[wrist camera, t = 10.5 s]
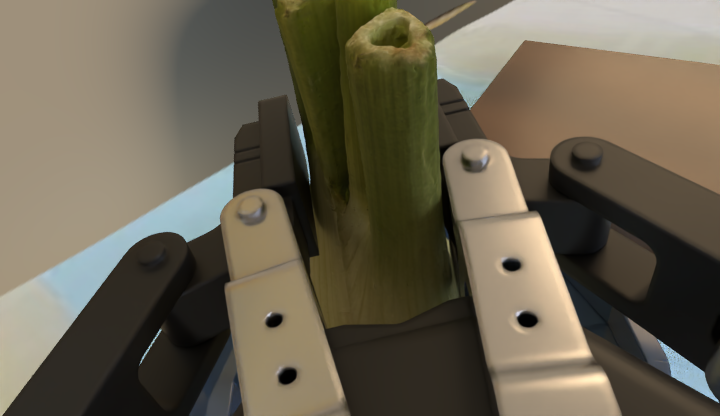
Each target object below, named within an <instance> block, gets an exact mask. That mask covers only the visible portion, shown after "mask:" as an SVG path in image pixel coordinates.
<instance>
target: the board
mask: <svg viewBox="0 0 720 416" xmlns="http://www.w3.org/2000/svg"><path fill="white" fill-rule="evenodd" d="M470 110H471V112H472V114H473V115H474V117H475V119H476V121H477V122H478V124H479V126H480V127H481V129H482V131H483V132H484V134H485V136H486V138H487V139H488V140H491V141H494V142H497V143H499V144H500V145H502V146H503V147H504V148H505V149H506V150H507V152H508V154H509V156H512V157H516V158H550V154H551V151H552V149H553V148H554V147H555V146H556V145H557V144H558V143H560V142H561V141H563V140H566V139H569V138H573V137H584V136H586V137H596V138H600V139H604V140H606V141H609V142H611V143H613V144H615V145H617V146H619V147H621V148H623V149H626V150H628V151H630V152H632V153H634V154H636V155H638V156H640V157H642V158H644V159H647V160H649V161H651V162H653V163H655V164H657V165H659V166H661V167H663V168H665V169H668V170H670V171H672V172H674V173H676V174H678V175H680V176H682V177H684V178H686V179H688V180H691V181H693V182H695V183H697V184H699V185H701V186H703V187H705V188H707V189H709V190H712V191H714V192H716V193H718V194H720V65H715V64H707V63H699V62H692V61H684V60H676V59H668V58H660V57H652V56H644V55H636V54H629V53H621V52H613V51H605V50H597V49H589V48H581V47H573V46H566V45H558V44H550V43H542V42H534V41H526V40H525V41H524V42H523V43H522V45H521V46H520V47H519V48H518V50H517V51H516V52H515V53H514V55H513V56H512V57H511V59H510V60H509V61H508V62H507V64H506V65H505V66H504V67H503V69H502V70H501V71H500V72H499V74H498V75H497V76H496V78H495V79H494V80H493V81H492V83H491V84H490V85H489V86H488V88H487V89H486V90H485V92H484V93H483V94H482V95H481V97H480V98H479V99H478V100H477V102H476V103H475V104H474V105H473V107H472V108H471V109H470ZM610 228H611V229H613V230H615V231H616V232H618V233H620V234H621V235H623V236H625V237H626V238H628V239H630V240H631V241H633V242H635V243H636V244H638V245H640V246H641V247H643V248H645V249H646V250H648V251H650V252H651V253H653V254H654V252H653V251H652V249H651V248H650V247H649V246H648V245H647V244H646V243H645V242H643V241H642V240H640V239H639V238H637V237H635V236H633V235H632V234H630V233H628V232H627V231H625V230H623V229H622V228H620V227H618V226H617V225H615V224H613V223H611V227H610Z"/></svg>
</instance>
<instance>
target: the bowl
mask: <svg viewBox="0 0 720 416" xmlns="http://www.w3.org/2000/svg"><path fill="white" fill-rule="evenodd" d="M444 228H445V232H446V238H447V239H448V240H449V236H448V232H447V230H446V227H445V226H444ZM309 261H310V258H309ZM561 273H562V275H563V278H564V281H565V284H566V286H567V289H568V292H569V294H570V297H571V300H572V302H573V305H574V308H575V311H576V313H577V316H578V319H579V321H580V324H581V326H582V327H584V328H586V329H587V330H589V331H591V332H593V333H594V334H596V335H598V336H600V337H602V338H603V339H605V340H607V341H609V342H611V343H612V344H614V345H616V346H618V347H619V348H621V349H623V350H625V351H627V352H628V353H630V354H632V355H634V356H635V357H637V358H639V359H641V360H643V361H644V362H646V363H648V364H650V365H652V366H653V367H655V368H657V369H659V370H660V371H662V372H664V373H666V374H668V375H669V376H671V370H670V364H669V362H668V359H667V357H666V355H665V353H664V351H663V349H662V347H661V346H660V344H659V342H658V340H657V338H656V337H654V336H653V335H652V334H650V333H649V332H647V331H646V330H645V329H643V328H642V327H640V326H639V325H637V324H636V323H635V322H633V321H632V320H630V319H629V318H628V317H626V316H625V315H623V314H622V313H621V312H619V311H618V310H616V309H615V308H613V307H612V306H611V305H609V304H608V303H606V302H605V301H604V300H602V299H601V298H599V297H598V296H597V295H595V294H594V293H592V292H591V291H590V290H588V289H587V288H585V287H584V286H582V285H581V284H580V283H578V282H577V281H575V280H574V279H573V278H571V277H570V276H568V275H567V274H566V273H564V272H563V271H561ZM241 402H242V398H241V392H240V385H239V379H238V373H237V366H236V360H235V354H234V347H233V341H232V334H230V336H229V339H228V341H227V343H226V345H225V346H224V348H223V350H222V352H221V354H220V356H219V358H218V360H217V362H216V364H215V366H214V368H213V370H212V372H211V374H210V376H209V377H208V379H207V381H206V383H205V385H204V387H203V389H202V391H201V393H200V395H199V397H198V399H197V401H196V403H195V405H194V407H193V409H192V410H191V412H190V414H189V416H232V415H233V414H234V412H235V411H236V409H237V408H238V406H239V405H240V403H241Z"/></svg>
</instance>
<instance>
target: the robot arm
mask: <svg viewBox="0 0 720 416" xmlns="http://www.w3.org/2000/svg"><path fill="white" fill-rule="evenodd" d="M437 83H438V84H437V95H438V119H439V152H440V172H441V190H442V205H443V218H444V226H445V227H446V230H447V232H448V236H449V248H450V255H451V260H452V266H453V271H454V277H455V282H456V288H457V293H458V298H456V299H452V300H448V301H446V302H444V303H442V304H440V305H438V306H436V307H434V308H432V309H429V310H427V311H425V312H423V313H421V314H419V315H417V316H415V317H413V318H411V319H409V320H407V321H405V322H402V323H399V324H357V325H341V326H337V327H332V328H327V325H326V322H325V319H324V316H323V313H322V310H321V307H320V304H319V300H318V297H317V294H316V291H315V288H314V285H313V282H312V279H311V276H310V261H309V258H310V257H314V256H319V255H320V254H319V247H318V240H317V233H316V226H315V219H314V212H313V205H312V198H311V192H310V184H309V177H308V170H307V164H306V159H305V154H304V150H303V147H302V143H301V140H300V136H299V133H298V130H297V126H296V123H295V119H294V116H293V113H292V109H291V106H290V103H289V100H288V97H287V95H282V96H278V97H274V98H270V99H266V100H261V101H259V102H258V109H259V111H258V112H259V121H258V122H253V123H249V124H245V125H243V126H242V127H241V129H240V130H239V132H238V134H237V135H236V137H235V142H234V143H235V144H234V151H235V154H234V180H233V199H232V200H230V201H229V202H228V203H227V204H226V205H225V207H224V208H223V210H222V212H221V215H220V223H221V224H220V225H218V226H217V227H216V228H214V229H213V230H211V231H210V232H208V233H206V234H204V235H202V236H200V237H198V238H196V239H194V240H191V241H189V242H187V243H186V241H185V239H184V238H183V237H182V236H180V235H179V234H176V233H172V232H163V233H157V234H153V235H151V236H148V237H146V238H144V239H142V240H140V241H139V242H137V243H136V244H135V245H133V246H132V247H131V248H130V249H129V250H128V251H127V252H126V254H125V255H124V256H123V257H122V259H121V260H120V261H119V263H118V264H117V265H116V267H115V268H114V269H113V271H112V272H111V273H110V275H109V276H108V277H107V279H106V280H105V281H104V282H103V284H102V285H101V286H100V288H99V289H98V290H97V292H96V293H95V294H94V296H93V297H92V298H91V300H90V301H89V302H88V304H87V305H86V306H85V307H84V309H83V310H82V311H81V313H80V314H79V315H78V317H77V318H76V319H75V321H74V322H73V323H72V325H71V326H70V327H69V329H68V330H67V331H66V332H65V334H64V335H63V336H62V338H61V339H60V340H59V342H58V343H57V344H56V346H55V347H54V348H53V350H52V351H51V352H50V354H49V355H48V356H47V357H46V359H45V360H44V361H43V363H42V364H41V365H40V367H39V368H38V369H37V371H36V372H35V373H34V375H33V376H32V377H31V379H30V380H29V381H28V382H27V384H26V385H25V386H24V388H23V389H22V390H21V392H20V393H19V394H18V396H17V397H16V398H15V400H14V401H13V402H12V404H11V405H10V406H9V407H8V409H7V410H6V411H5V413H4V414H3V415H2V416H189V414H190V412H191V410H192V409H193V407H194V405H195V403H196V401H197V399H198V397H199V395H200V393H201V391H202V389H203V387H204V385H205V383H206V381H207V379H208V377H209V376H210V374H211V372H212V370H213V368H214V366H215V364H216V362H217V360H218V358H219V356H220V354H221V352H222V350H223V348H224V346H225V345H226V343H227V341H228V339H229V336H230V334H232V341H233V347H234V354H235V360H236V366H237V373H238V379H239V385H240V392H241V398H242V402H241V403H240V405H239V406H238V408H237V409H236V411H235V412H234V414H233V415H232V416H720V194H718V193H716V192H714V191H712V190H709V189H707V188H705V187H703V186H701V185H699V184H697V183H695V182H693V181H691V180H688V179H686V178H684V177H682V176H680V175H678V174H676V173H674V172H672V171H670V170H668V169H665V168H663V167H661V166H659V165H657V164H655V163H653V162H651V161H649V160H647V159H644V158H642V157H640V156H638V155H636V154H634V153H632V152H630V151H628V150H626V149H623V148H621V147H619V146H617V145H615V144H613V143H611V142H609V141H606V140H604V139H600V138H596V137H586V136H584V137H573V138H569V139H566V140H563V141H561V142H560V143H558V144H557V145H556V146H555V147H554V148H553V149H552V151H551V154H550V158H516V157H512V156H509V154H508V152H507V150H506V149H505V148H504V147H503V146H502V145H500V144H499V143H497V142H494V141H491V140H488V139H487V138H486V136H485V134H484V132H483V131H482V129H481V127H480V126H479V124H478V122H477V121H476V119H475V117H474V115H473V114H472V112H471V110H469V107H468V105H467V104H466V102H465V101H464V99H463V97H462V95H461V93H460V92H459V90H458V88H457V87H456V86H454V85H453V84H451V83H449V82H448V81H446V80H444V79H439V80H437ZM611 223H613V224H615V225H617V226H618V227H620V228H622V229H623V230H625V231H627V232H628V233H630V234H632V235H633V236H635V237H637V238H639V239H640V240H642V241H643V242H645V243H646V244H647V245H648V246H649V247H650V248H651V249H652V251H653V252H654V254H653V253H651V252H650V251H648V250H646V249H645V248H643V247H641V246H640V245H638V244H636V243H635V242H633V241H631V240H630V239H628V238H626V237H625V236H623V235H621V234H620V233H618V232H616V231H615V230H613V229H611V228H610V227H611ZM561 271H563V272H564V273H566V274H567V275H568V276H570V277H571V278H573V279H574V280H575V281H577V282H578V283H580V284H581V285H582V286H584V287H585V288H587V289H588V290H590V291H591V292H592V293H594V294H595V295H597V296H598V297H599V298H601V299H602V300H604V301H605V302H606V303H608V304H609V305H611V306H612V307H613V308H615V309H616V310H618V311H619V312H621V313H622V314H623V315H625V316H626V317H628V318H629V319H630V320H632V321H633V322H635V323H636V324H637V325H639V326H640V327H642V328H643V329H645V330H646V331H647V332H649V333H650V334H652V335H653V336H654V337H656V338H657V339H659V340H660V341H661V342H663V343H664V344H666V345H667V346H669V347H670V348H671V349H673V350H674V351H676V352H677V353H678V354H680V355H681V356H683V357H684V358H685V359H687V360H688V361H690V362H691V363H693V364H694V365H695V366H697V367H698V368H700V369H701V370H702V371H704V372H705V377H706V381H707V384H708V386H709V388H710V390H711V391H712V393H713V394H714V396H715V397H716V398H717V399H718V400H719V403H718V402H716V401H714V400H712V399H710V398H709V397H707V396H705V395H703V394H701V393H700V392H698V391H696V390H694V389H693V388H691V387H689V386H687V385H685V384H684V383H682V382H680V381H678V380H676V379H675V378H673V377H671V376H669V375H668V374H666V373H664V372H662V371H660V370H659V369H657V368H655V367H653V366H652V365H650V364H648V363H646V362H644V361H643V360H641V359H639V358H637V357H635V356H634V355H632V354H630V353H628V352H627V351H625V350H623V349H621V348H619V347H618V346H616V345H614V344H612V343H611V342H609V341H607V340H605V339H603V338H602V337H600V336H598V335H596V334H594V333H593V332H591V331H589V330H587V329H586V328H584V327H582V326H581V324H580V321H579V319H578V316H577V313H576V311H575V308H574V305H573V302H572V300H571V297H570V294H569V292H568V289H567V286H566V284H565V281H564V278H563V275H562V273H561ZM160 328H161V329H162V330H161V332H160V334H159V335H158V337H157V338H156V340H155V342H154V343H153V345H152V347H151V348H150V350H149V351H148V353H147V355H146V356H145V358H144V359H143V361H142V363H141V364H140V361H141V359H142V357H143V355H144V354H145V352H146V350H147V349H148V347H149V346H150V344H151V342H152V341H153V339H154V338H155V336H156V334H157V333H158V331H159V330H160ZM139 364H140V366H139Z"/></svg>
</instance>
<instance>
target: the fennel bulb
mask: <svg viewBox="0 0 720 416" xmlns="http://www.w3.org/2000/svg"><path fill="white" fill-rule="evenodd" d="M272 1H273V6H274V9H275V15H276V19H277V22H278V25H279V29H280V33H281V38H282V40H283V44H284V46H285V51H286V55H287V59H288V63H289V68H290V72H291V76H292V80H293V85H294V90H295V94H296V100H297V104H298V108H299V113H300V116H301V121H302V125H303V131H304V138H305V142H306V151H307V155H308V162H309V170H310V192H311V198H312V205H313V212H314V219H315V226H316V233H317V240H318V247H319V254H320V255H319V256H314V257H310V276H311V279H312V282H313V285H314V288H315V291H316V294H317V297H318V300H319V304H320V307H321V310H322V313H323V316H324V319H325V322H326V325H327V328H332V327H337V326H341V325H357V324H399V323H402V322H405V321H407V320H409V319H411V318H413V317H415V316H417V315H419V314H421V313H423V312H425V311H427V310H429V309H432V308H434V307H436V306H438V305H440V304H442V303H444V302H446V301H448V300H452V299H456V298H458V293H457V288H456V282H455V277H454V271H453V266H452V260H451V255H450V248H449V240H448V239H447V238H446V232H445V228H444V218H443V205H442V190H441V172H440V152H439V119H438V95H437V84H438V83H437V59H436V53H435V46H434V37H433V35H432V33H431V31H430V30H429V29H428V28H427V27H426V26H424V24H423V23H422V22H421V21H419V20H418V19H417V18H415V17H414V16H413V15H411V14H410V13H409V12H407V11H404V10H403V9H397V0H272Z"/></svg>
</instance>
